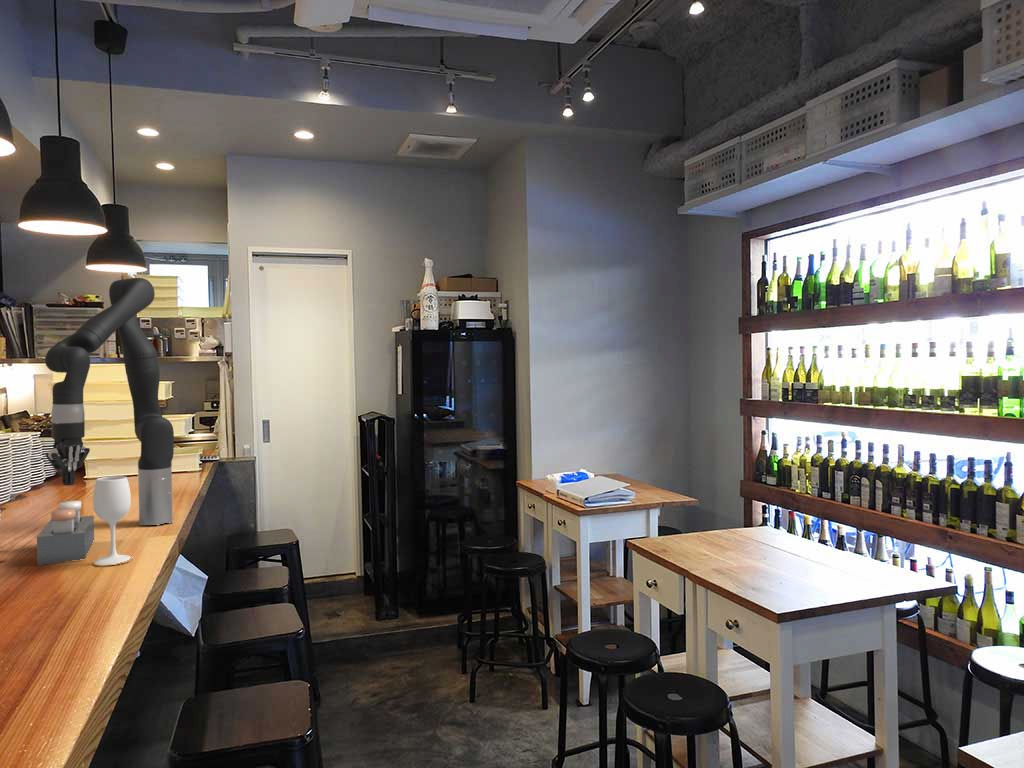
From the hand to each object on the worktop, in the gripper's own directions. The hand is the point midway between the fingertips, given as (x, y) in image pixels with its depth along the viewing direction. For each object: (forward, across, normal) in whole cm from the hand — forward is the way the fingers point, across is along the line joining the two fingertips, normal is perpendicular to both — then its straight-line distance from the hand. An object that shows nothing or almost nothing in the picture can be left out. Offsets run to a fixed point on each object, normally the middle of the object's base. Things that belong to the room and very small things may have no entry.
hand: (68, 484), depth 189 cm
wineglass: (+17, +10, +22) cm, 30 cm away
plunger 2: (+12, +10, +7) cm, 17 cm away
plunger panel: (+17, +5, +4) cm, 18 cm away
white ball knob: (+12, 0, 0) cm, 12 cm away
